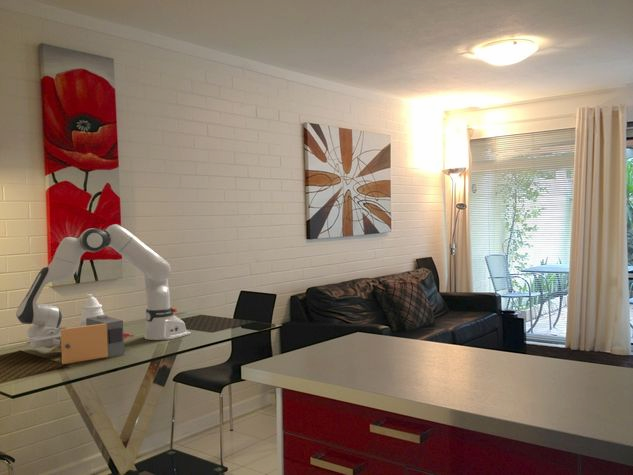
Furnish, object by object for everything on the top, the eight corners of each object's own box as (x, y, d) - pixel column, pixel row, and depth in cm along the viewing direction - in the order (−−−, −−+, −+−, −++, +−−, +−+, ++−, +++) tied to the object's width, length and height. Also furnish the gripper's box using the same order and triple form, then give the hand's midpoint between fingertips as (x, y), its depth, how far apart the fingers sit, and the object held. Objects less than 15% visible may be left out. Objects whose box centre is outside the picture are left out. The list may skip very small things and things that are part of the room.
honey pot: (97, 330, 315) (95, 296, 314) (75, 329, 317) (73, 295, 316) (110, 325, 327) (109, 292, 326) (89, 324, 330) (87, 292, 329)
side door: (61, 363, 244) (60, 329, 243) (106, 356, 255) (105, 323, 254) (63, 364, 242) (62, 330, 241) (108, 357, 252) (107, 324, 252)
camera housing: (104, 348, 273) (103, 313, 272) (125, 355, 260) (124, 318, 259) (87, 351, 267) (86, 315, 266) (107, 358, 254) (106, 321, 253)
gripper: (24, 334, 257) (36, 338, 248) (71, 326, 272) (85, 330, 262) (24, 348, 258) (37, 354, 248) (71, 340, 272) (85, 345, 263)
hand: (62, 342), depth 255 cm, fingers closed
